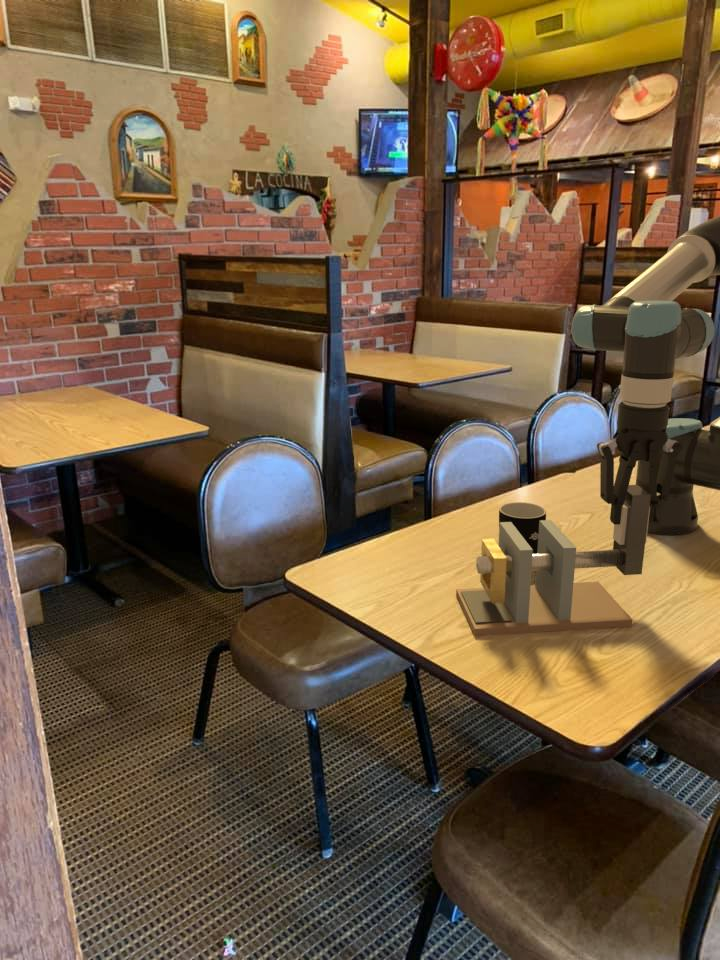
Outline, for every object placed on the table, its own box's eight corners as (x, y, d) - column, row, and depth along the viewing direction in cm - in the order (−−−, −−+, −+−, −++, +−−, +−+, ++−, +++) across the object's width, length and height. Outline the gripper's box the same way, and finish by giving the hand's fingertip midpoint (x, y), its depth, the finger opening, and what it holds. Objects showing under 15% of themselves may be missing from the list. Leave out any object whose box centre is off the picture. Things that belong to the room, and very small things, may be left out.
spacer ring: (491, 581, 125) (493, 538, 122) (504, 603, 117) (506, 557, 115) (480, 581, 125) (481, 539, 122) (492, 603, 117) (494, 558, 115)
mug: (529, 571, 137) (532, 521, 134) (488, 559, 143) (490, 511, 140) (557, 551, 146) (561, 504, 143) (518, 540, 152) (520, 495, 149)
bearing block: (597, 587, 130) (604, 515, 126) (631, 626, 117) (640, 546, 113) (456, 595, 128) (458, 522, 124) (474, 635, 115) (477, 555, 111)
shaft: (628, 561, 124) (636, 484, 120) (641, 574, 119) (650, 494, 115) (474, 569, 122) (477, 491, 118) (481, 582, 117) (484, 502, 113)
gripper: (681, 396, 117) (664, 530, 124) (585, 399, 116) (574, 534, 123) (706, 405, 110) (687, 547, 117) (604, 409, 109) (591, 552, 116)
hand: (629, 540), depth 120 cm, fingers closed on shaft, 3 cm apart
